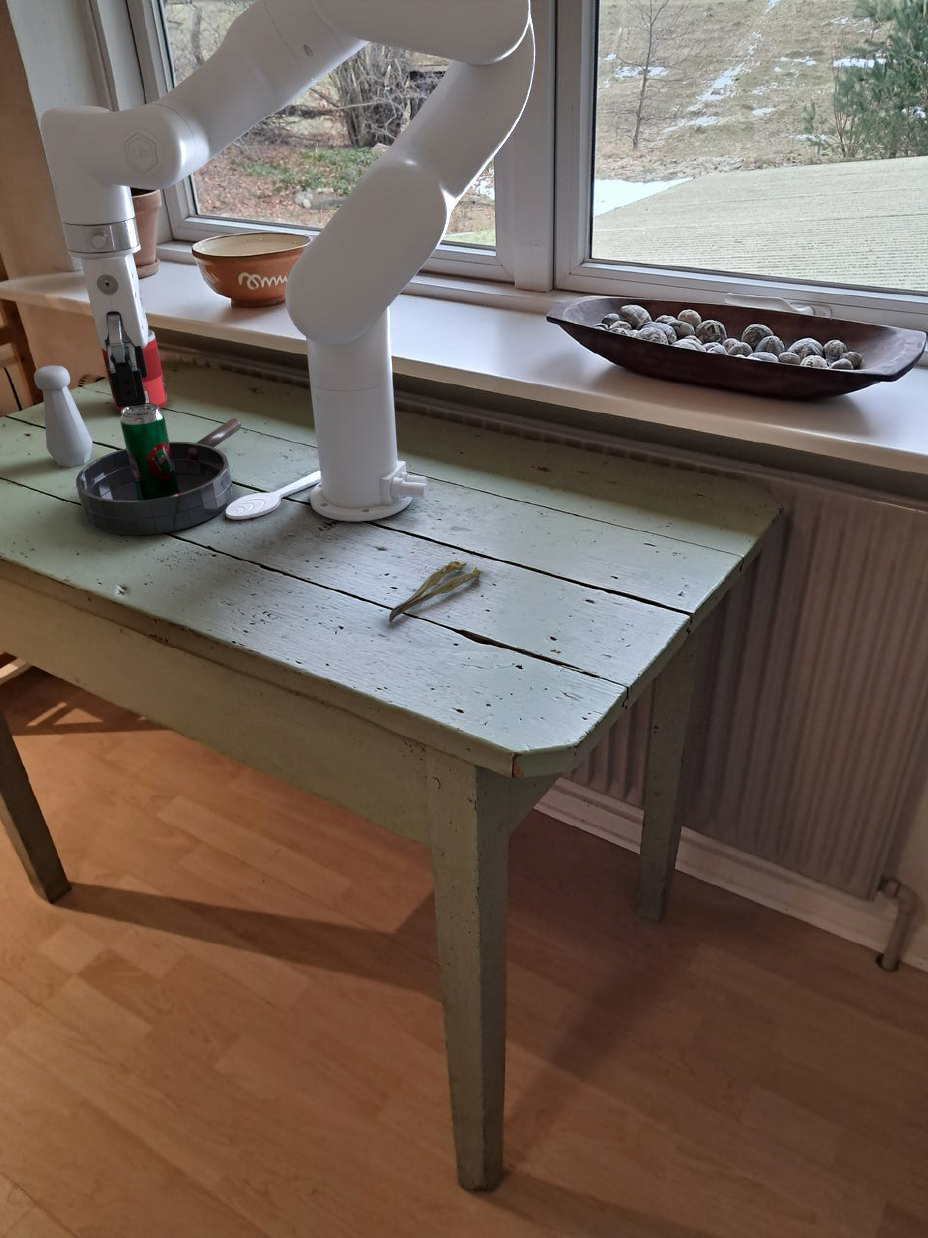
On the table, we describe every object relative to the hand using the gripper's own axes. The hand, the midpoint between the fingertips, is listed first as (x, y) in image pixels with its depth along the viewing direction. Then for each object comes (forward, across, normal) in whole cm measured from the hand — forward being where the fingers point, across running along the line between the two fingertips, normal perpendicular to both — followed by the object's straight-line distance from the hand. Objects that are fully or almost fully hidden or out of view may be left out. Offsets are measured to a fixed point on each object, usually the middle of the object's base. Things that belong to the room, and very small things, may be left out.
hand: (133, 391), depth 113 cm
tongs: (+14, -32, -28) cm, 45 cm away
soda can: (+14, 0, -1) cm, 14 cm away
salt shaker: (+15, +17, +11) cm, 25 cm away
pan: (+14, 0, -1) cm, 14 cm away
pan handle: (+12, +11, -8) cm, 19 cm away
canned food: (+15, +37, +2) cm, 40 cm away
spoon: (+14, -2, -16) cm, 22 cm away
